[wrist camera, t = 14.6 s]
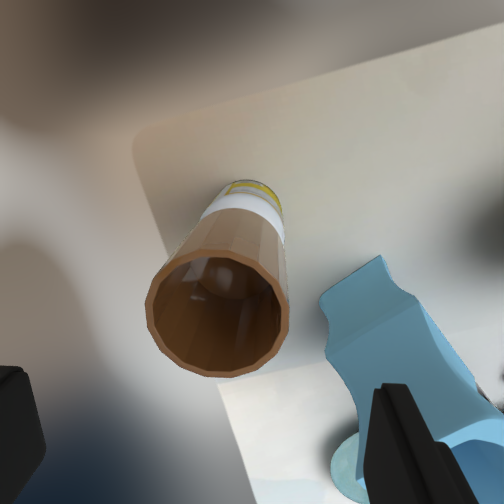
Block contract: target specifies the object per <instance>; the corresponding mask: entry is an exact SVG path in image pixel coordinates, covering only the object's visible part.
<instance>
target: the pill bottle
mask: <svg viewBox="0 0 504 504" xmlns="http://www.w3.org/2000/svg"><path fill="white" fill-rule="evenodd" d="M226 208H241V209H246V210H249V211H252V212H255V213H257V214H259V215H261V216H262V217H264V218H265V219H266V220H267V221H269V222H270V223H271V224H272V226H273V227H274V228H275V229H276V231H277V232H278V234H279V236H280V238H281V241H282V244H283V246H284V240H285V232H284V224H283V216H282V209H281V205H280V202H279V200H278V198H277V196H276V195H275V193H274V192H273V191H272V190H271V189H270V188H269V187H267V186H266V185H264V184H262V183H260V182H257V181H253V180H240V181H236V182H233V183H231V184H229V185H228V186H226V187H225V188H224V189H222V190H221V192H220V193H219V194H218V195H217V196H216V198H215V199H214V200H213V201H212V202H211V204H210V205H209V206H208V207H207V209H206V210H205V211H204V213H203V215H202V216H201V218H200V221H201V220H202V219H203V218H204V217H206V216H207V215H209V214H211V213H213V212H215V211H218V210H221V209H226ZM200 221H199V222H200Z"/></svg>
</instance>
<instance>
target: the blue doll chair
mask: <svg viewBox="0 0 504 504" xmlns="http://www.w3.org/2000/svg"><path fill="white" fill-rule="evenodd" d="M319 306H320V308H321V309H322V311H323V312H324V314H325V315H326V317H327V319H328V321H329V336H328V340H327V344H326V348H325V355H326V359H327V360H328V361H329V362H330V363H331V365H332V366H333V367H334V368H335V370H336V371H337V372H338V374H339V375H340V376H341V378H342V379H343V381H344V382H345V384H346V386H347V387H348V389H349V391H350V393H351V395H352V398H353V400H354V402H355V405H356V409H357V414H358V420H359V447H358V457H357V464H356V473H355V479H356V481H357V482H358V483H359V484H360V485H361V486H362V487H363V488H364V489H365V490H366V485H365V481H364V475H363V462H364V455H365V448H366V441H367V434H368V427H369V420H370V413H371V406H372V399H373V392H374V389H375V388H381V385H382V383H400V384H406V385H407V386H408V388H409V390H410V392H411V394H412V396H413V398H414V400H415V402H416V404H417V406H418V408H419V410H420V412H421V414H422V417H423V419H424V421H425V423H426V425H427V427H428V429H429V431H430V433H431V435H432V437H433V439H434V441H441V442H445V443H446V444H447V445H448V446H449V448H450V449H451V451H452V453H453V455H454V457H455V458H456V460H457V462H458V464H459V466H460V468H461V470H462V472H463V474H464V476H465V478H466V479H467V481H468V483H469V485H470V487H471V489H472V491H473V493H474V495H475V497H476V499H477V500H478V502H479V504H504V414H503V413H502V412H500V411H499V410H498V409H497V408H496V407H494V406H493V405H492V404H491V403H489V402H488V401H487V400H486V399H485V398H484V397H483V396H481V395H480V394H479V393H478V391H477V387H476V383H475V379H474V376H473V375H472V374H471V372H470V371H469V370H468V368H467V367H466V365H465V364H464V363H463V361H462V360H461V359H460V357H459V356H458V355H457V353H456V352H455V350H454V349H453V348H452V346H451V345H450V344H449V342H448V341H447V339H446V338H445V337H444V335H443V334H442V333H441V331H440V330H439V328H438V327H437V326H436V324H435V323H434V321H433V320H432V319H431V317H430V316H429V315H428V313H427V312H426V310H425V309H424V308H423V306H422V305H421V304H420V302H419V301H418V300H417V299H416V297H415V296H413V295H411V294H409V293H407V292H405V291H404V290H402V289H401V288H399V287H398V286H397V285H396V284H395V283H394V282H393V280H392V278H391V275H390V273H389V270H388V267H387V264H386V262H385V260H384V259H383V257H382V256H381V255H380V256H378V257H377V258H375V259H374V260H372V261H371V262H369V263H367V264H366V265H364V266H363V267H361V268H360V269H358V270H357V271H355V272H354V273H352V274H351V275H349V276H348V277H346V278H345V279H343V280H342V281H340V282H339V283H337V284H336V285H334V286H333V287H331V288H330V289H329V290H327V291H326V292H325V293H323V294H322V296H321V297H320V301H319Z"/></svg>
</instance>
